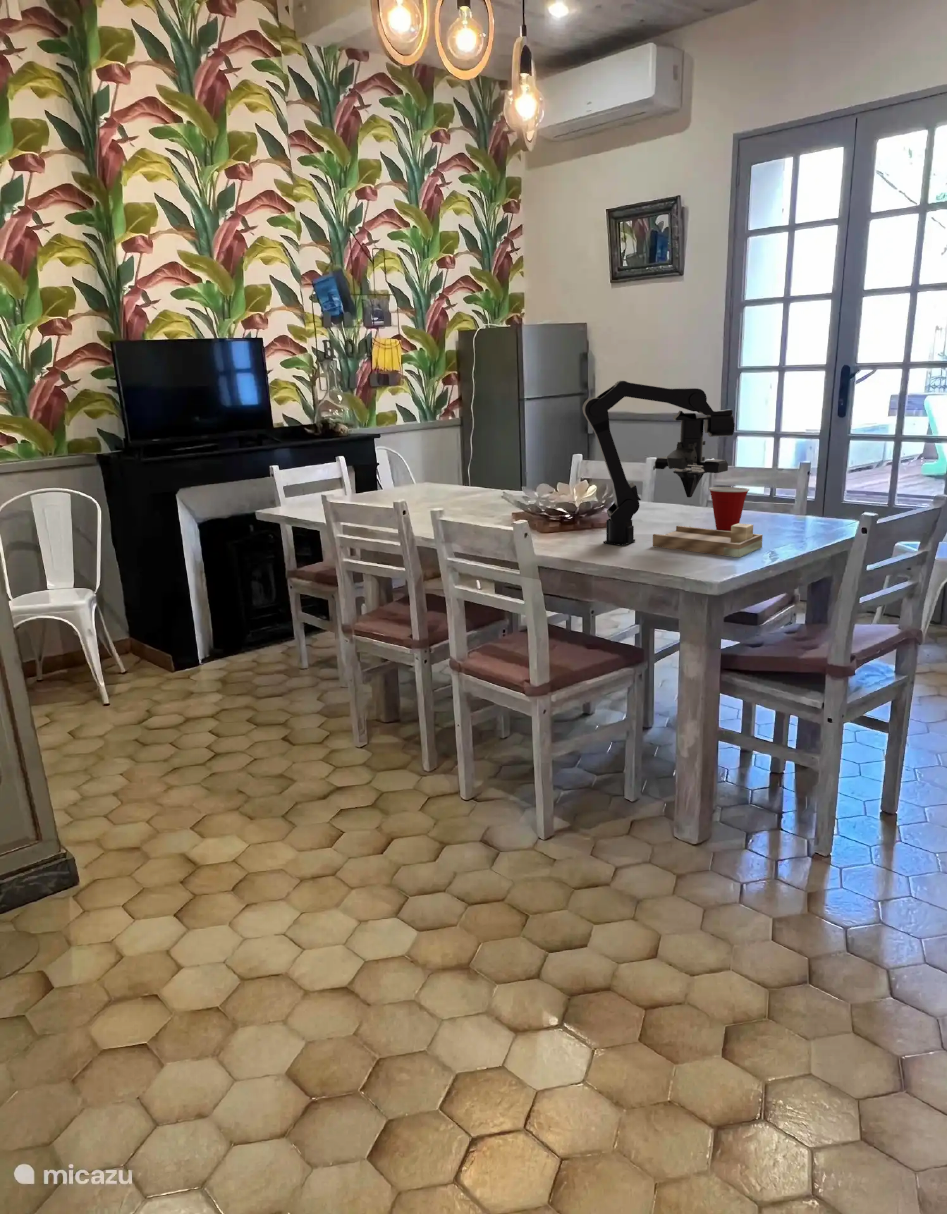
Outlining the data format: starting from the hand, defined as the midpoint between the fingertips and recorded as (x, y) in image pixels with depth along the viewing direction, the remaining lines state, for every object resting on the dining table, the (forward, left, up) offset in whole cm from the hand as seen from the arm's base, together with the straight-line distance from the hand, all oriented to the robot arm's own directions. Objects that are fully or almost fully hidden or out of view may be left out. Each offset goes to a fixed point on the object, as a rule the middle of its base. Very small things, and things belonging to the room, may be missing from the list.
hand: (689, 497), depth 221 cm
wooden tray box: (+8, -5, -12) cm, 15 cm away
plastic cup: (+3, +17, -12) cm, 21 cm away
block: (+16, -3, -10) cm, 19 cm away
